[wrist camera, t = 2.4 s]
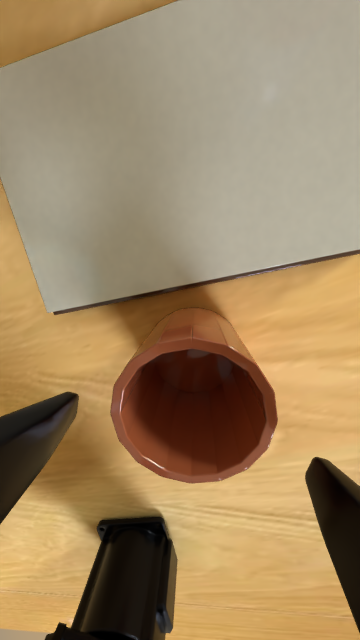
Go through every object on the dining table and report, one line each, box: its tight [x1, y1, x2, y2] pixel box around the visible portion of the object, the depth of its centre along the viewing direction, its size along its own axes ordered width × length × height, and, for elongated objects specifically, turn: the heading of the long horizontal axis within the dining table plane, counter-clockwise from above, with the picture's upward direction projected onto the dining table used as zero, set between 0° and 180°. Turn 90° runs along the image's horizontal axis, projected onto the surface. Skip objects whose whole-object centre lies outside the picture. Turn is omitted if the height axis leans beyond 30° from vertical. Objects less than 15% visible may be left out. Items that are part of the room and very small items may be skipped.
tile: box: [0, 0, 360, 315], centre depth 12 cm, size 21×14×2 cm, turn 102°
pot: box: [110, 308, 278, 483], centre depth 12 cm, size 7×7×7 cm
